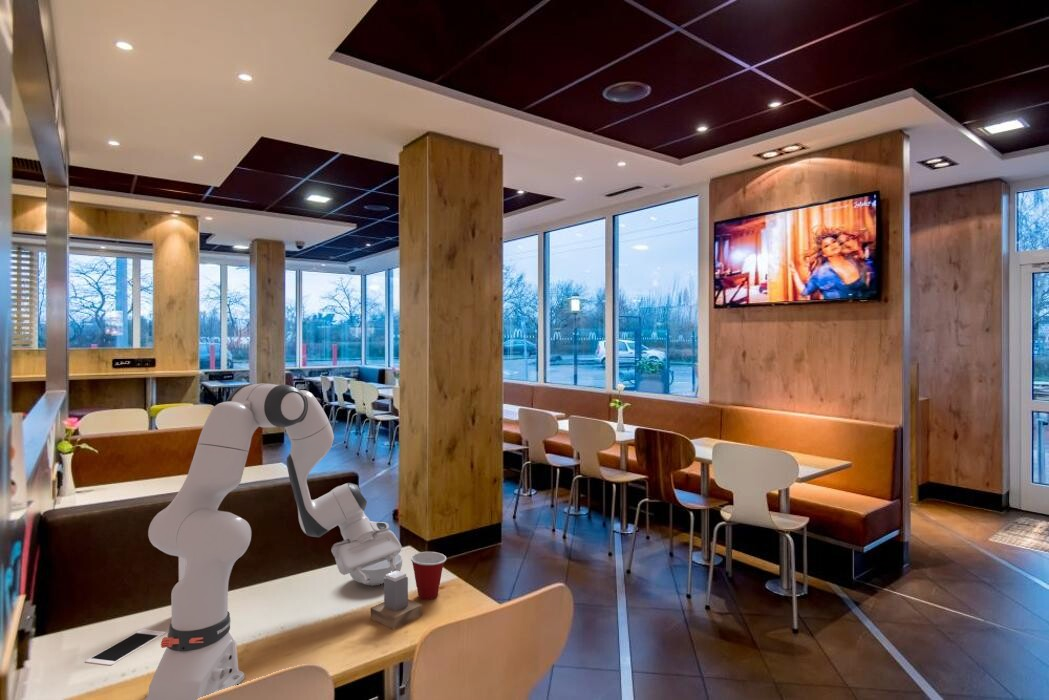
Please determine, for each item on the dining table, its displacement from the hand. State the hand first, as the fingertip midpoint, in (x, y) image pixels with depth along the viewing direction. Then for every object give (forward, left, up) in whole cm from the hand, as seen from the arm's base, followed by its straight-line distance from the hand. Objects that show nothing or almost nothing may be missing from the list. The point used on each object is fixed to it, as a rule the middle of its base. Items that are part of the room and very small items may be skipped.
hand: (380, 576), depth 163 cm
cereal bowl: (+21, +5, -10) cm, 24 cm away
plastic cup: (+8, -13, -10) cm, 18 cm away
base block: (-5, -5, -10) cm, 12 cm away
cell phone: (-14, +61, -10) cm, 63 cm away
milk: (+3, +53, -10) cm, 54 cm away
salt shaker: (-5, -5, -7) cm, 10 cm away
